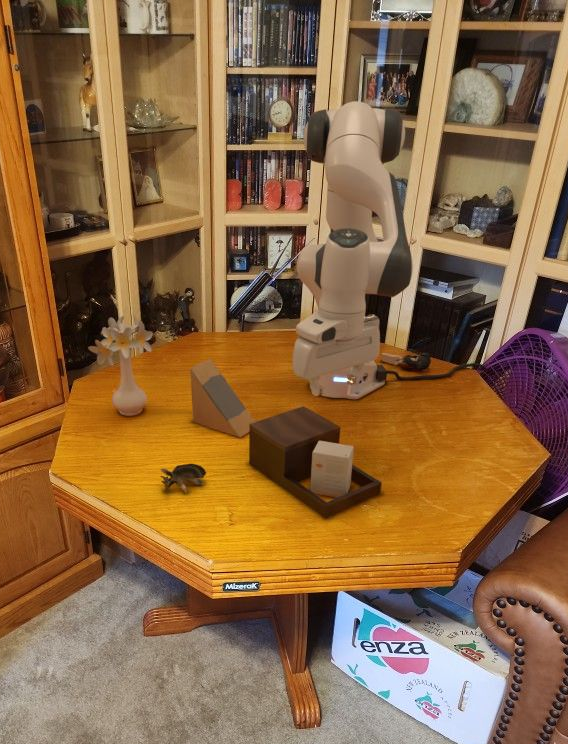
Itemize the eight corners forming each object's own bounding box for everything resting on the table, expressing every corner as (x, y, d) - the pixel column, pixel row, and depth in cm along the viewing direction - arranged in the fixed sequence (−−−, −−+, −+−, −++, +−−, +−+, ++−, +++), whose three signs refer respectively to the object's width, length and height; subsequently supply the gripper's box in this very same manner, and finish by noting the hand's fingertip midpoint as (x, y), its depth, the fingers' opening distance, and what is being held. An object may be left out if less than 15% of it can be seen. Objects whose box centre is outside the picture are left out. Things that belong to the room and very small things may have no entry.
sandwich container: (240, 438, 166) (240, 382, 158) (192, 421, 173) (189, 368, 165) (259, 425, 172) (260, 370, 163) (211, 409, 179) (210, 357, 171)
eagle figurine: (175, 500, 141) (211, 482, 144) (160, 469, 140) (198, 452, 143) (167, 500, 148) (202, 483, 151) (153, 471, 147) (189, 454, 150)
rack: (301, 444, 164) (303, 405, 158) (380, 493, 145) (386, 452, 140) (248, 463, 156) (249, 424, 150) (325, 518, 138) (329, 475, 132)
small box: (350, 486, 148) (355, 445, 142) (345, 500, 143) (349, 458, 137) (315, 480, 150) (318, 439, 144) (309, 493, 145) (312, 451, 140)
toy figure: (377, 368, 204) (426, 374, 198) (379, 347, 201) (429, 353, 195) (383, 362, 210) (431, 368, 204) (385, 342, 207) (434, 348, 201)
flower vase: (92, 424, 172) (79, 330, 158) (123, 394, 186) (114, 306, 172) (138, 431, 169) (129, 336, 155) (166, 401, 183) (160, 311, 169)
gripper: (368, 308, 134) (361, 372, 141) (289, 327, 124) (286, 395, 131) (391, 316, 129) (382, 382, 137) (311, 336, 119) (306, 406, 127)
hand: (334, 389), depth 134 cm, fingers open, 8 cm apart
